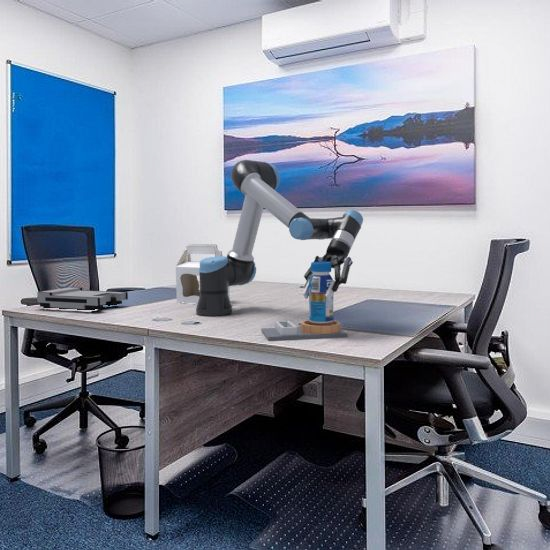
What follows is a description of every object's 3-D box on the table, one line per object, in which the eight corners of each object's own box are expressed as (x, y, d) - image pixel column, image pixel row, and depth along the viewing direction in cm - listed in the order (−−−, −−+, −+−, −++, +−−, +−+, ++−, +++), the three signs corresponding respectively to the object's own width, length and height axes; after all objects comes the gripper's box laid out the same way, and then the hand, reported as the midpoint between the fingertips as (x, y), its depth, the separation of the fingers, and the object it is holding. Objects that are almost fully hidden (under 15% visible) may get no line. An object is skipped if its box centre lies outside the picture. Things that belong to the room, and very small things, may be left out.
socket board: (268, 340, 161) (268, 329, 160) (261, 331, 174) (261, 321, 174) (347, 336, 165) (347, 325, 165) (334, 328, 179) (334, 318, 179)
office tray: (98, 314, 214) (97, 295, 213) (38, 310, 224) (37, 292, 224) (128, 307, 233) (127, 289, 233) (71, 304, 244) (70, 287, 243)
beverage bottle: (305, 320, 173) (304, 261, 172) (328, 318, 176) (328, 261, 174) (313, 324, 165) (313, 263, 163) (337, 323, 168) (337, 262, 166)
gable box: (176, 303, 244) (174, 244, 241) (192, 299, 255) (191, 243, 253) (215, 305, 234) (214, 244, 231) (230, 302, 246) (229, 243, 243)
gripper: (370, 254, 175) (348, 307, 163) (318, 253, 187) (294, 301, 175) (363, 239, 170) (340, 292, 158) (310, 238, 182) (285, 288, 171)
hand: (316, 297), depth 167 cm, fingers closed on beverage bottle, 8 cm apart
